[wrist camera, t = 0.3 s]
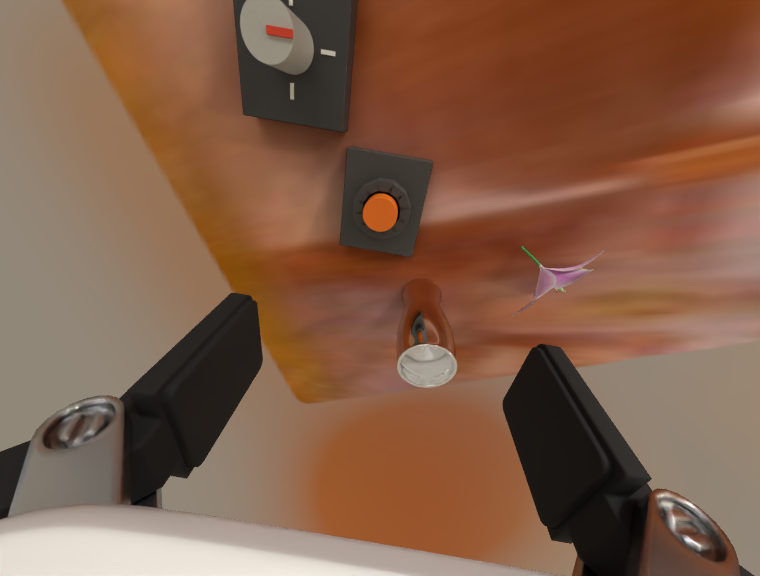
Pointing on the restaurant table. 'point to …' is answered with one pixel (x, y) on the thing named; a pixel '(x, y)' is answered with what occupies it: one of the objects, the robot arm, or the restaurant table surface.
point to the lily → (556, 278)
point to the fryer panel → (319, 82)
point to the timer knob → (276, 36)
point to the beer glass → (425, 337)
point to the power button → (380, 212)
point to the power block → (390, 177)
